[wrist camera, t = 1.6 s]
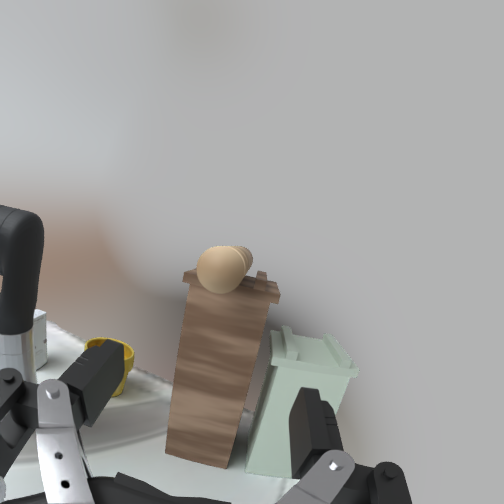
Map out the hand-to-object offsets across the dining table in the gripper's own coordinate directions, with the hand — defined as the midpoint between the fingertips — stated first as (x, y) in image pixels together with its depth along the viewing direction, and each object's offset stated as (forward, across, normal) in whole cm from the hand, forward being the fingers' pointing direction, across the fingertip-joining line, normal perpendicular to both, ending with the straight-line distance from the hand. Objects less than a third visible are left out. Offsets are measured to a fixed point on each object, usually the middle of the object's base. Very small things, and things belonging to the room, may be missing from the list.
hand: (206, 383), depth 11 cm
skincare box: (+26, +40, +36) cm, 60 cm away
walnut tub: (+22, +1, +34) cm, 41 cm away
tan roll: (+26, +1, +4) cm, 26 cm away
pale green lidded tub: (+22, -12, +34) cm, 42 cm away
